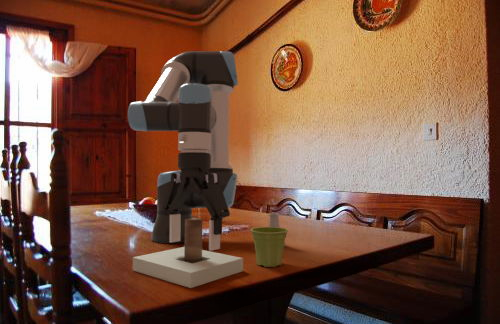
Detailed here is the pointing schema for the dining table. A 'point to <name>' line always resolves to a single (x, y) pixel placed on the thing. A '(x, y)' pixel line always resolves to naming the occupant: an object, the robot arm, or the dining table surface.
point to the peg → (193, 240)
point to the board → (187, 267)
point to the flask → (274, 220)
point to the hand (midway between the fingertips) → (193, 245)
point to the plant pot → (269, 245)
